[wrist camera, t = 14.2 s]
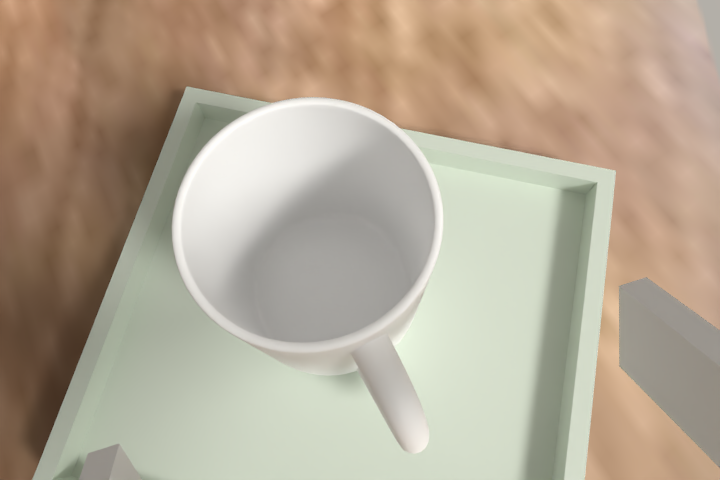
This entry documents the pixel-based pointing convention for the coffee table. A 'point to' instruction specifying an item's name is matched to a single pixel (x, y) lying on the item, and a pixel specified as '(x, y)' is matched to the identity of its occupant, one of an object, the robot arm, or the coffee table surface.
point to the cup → (315, 243)
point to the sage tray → (348, 391)
